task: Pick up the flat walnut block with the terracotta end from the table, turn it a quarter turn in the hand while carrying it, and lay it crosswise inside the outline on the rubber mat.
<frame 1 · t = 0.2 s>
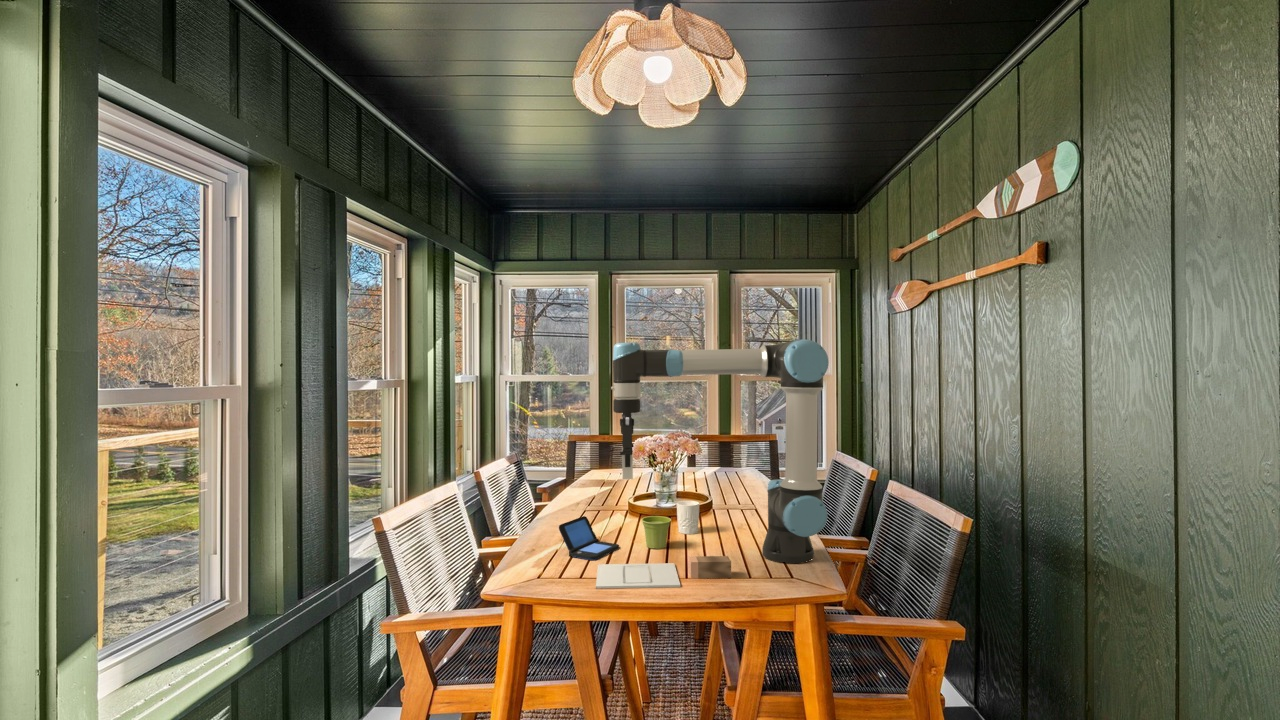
hand: (627, 474, 178), 27 cm above the table, tool pointing down, fingers open, 13 cm apart
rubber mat: (637, 576, 175), on the table
plant pot: (656, 547, 203), on the table
white cup: (688, 532, 221), on the table
walnut block: (709, 575, 176), on the table
handheld game console: (589, 552, 198), on the table
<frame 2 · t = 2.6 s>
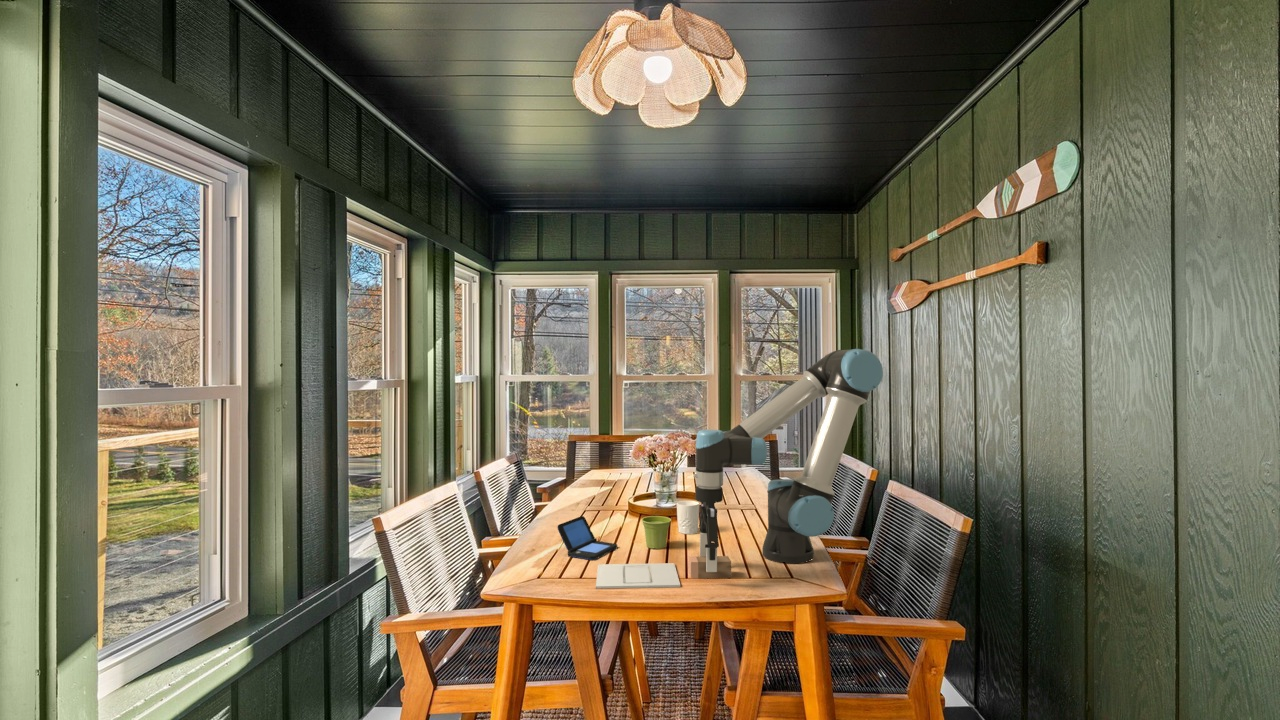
hand: (707, 563, 176), 3 cm above the table, tool pointing down, fingers open, 13 cm apart
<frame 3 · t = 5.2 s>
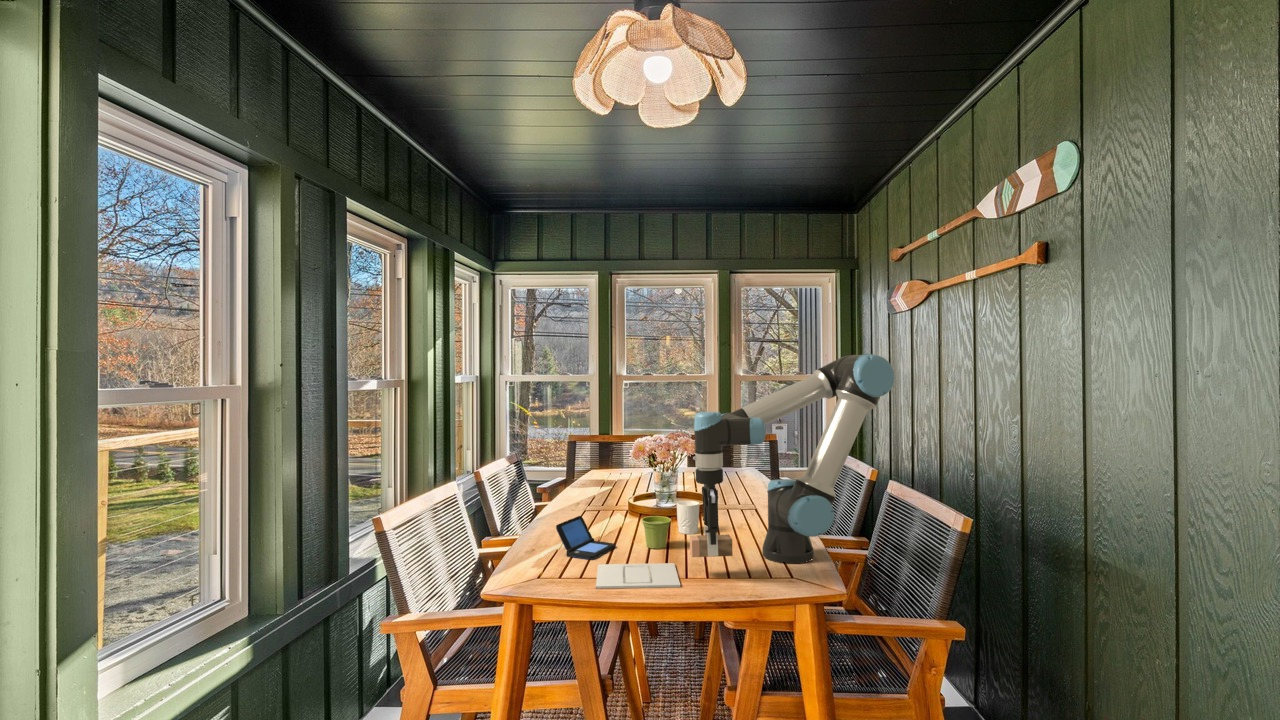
hand: (711, 552, 176), 6 cm above the table, tool pointing down, fingers closed on walnut block, 5 cm apart
walnut block: (711, 553, 176), point 6 cm above the table, touching gripper
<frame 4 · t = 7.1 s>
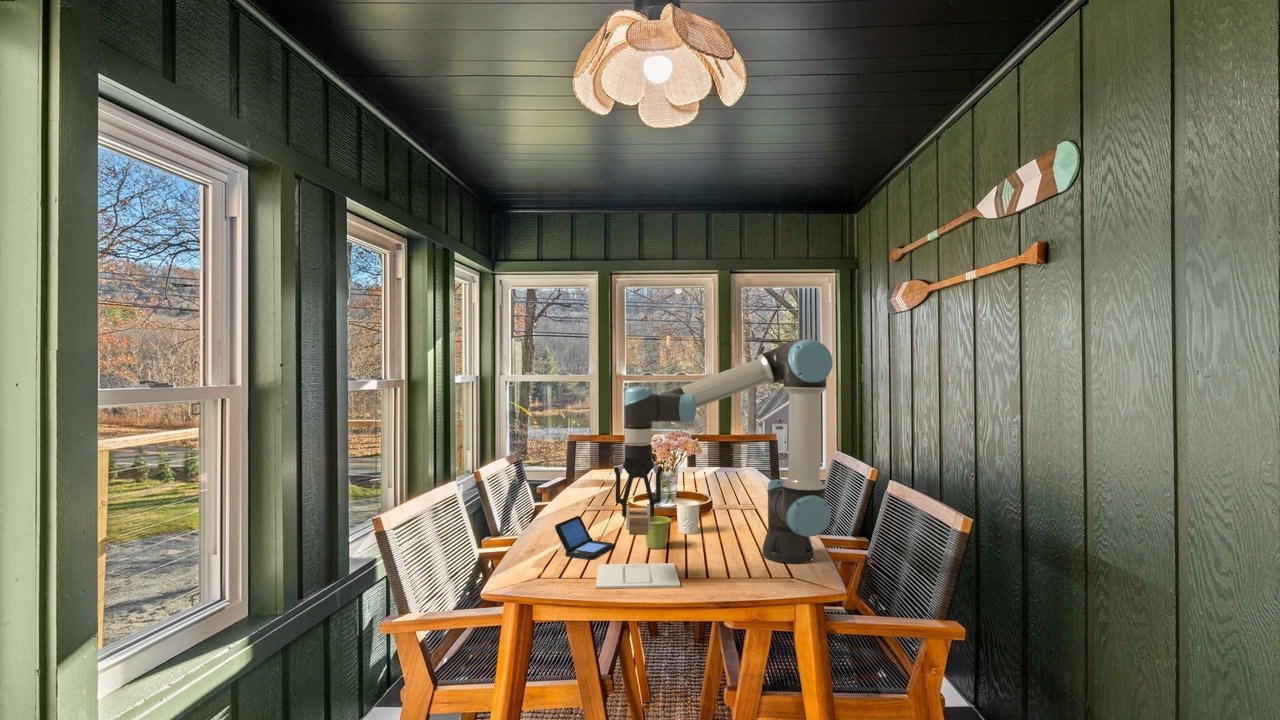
hand: (638, 528, 175), 13 cm above the table, tool pointing down, fingers closed on walnut block, 5 cm apart
walnut block: (638, 529, 175), point 13 cm above the table, touching gripper
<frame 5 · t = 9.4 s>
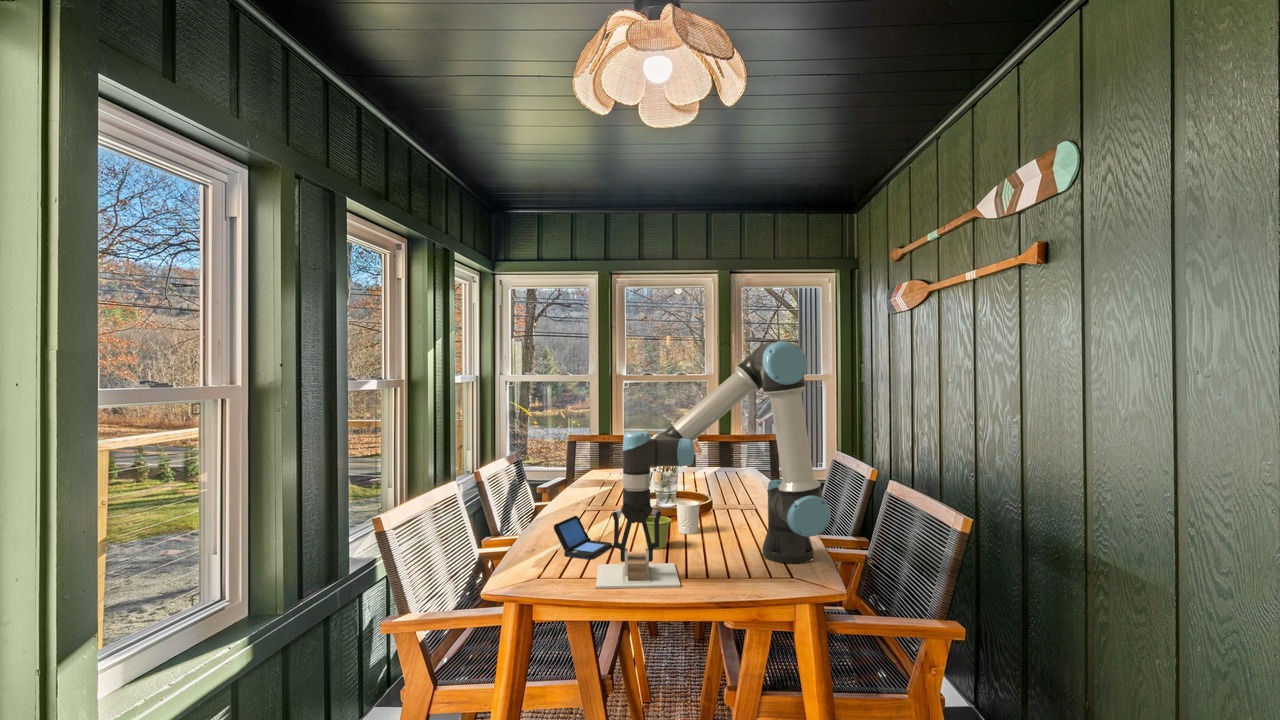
hand: (636, 573, 175), 1 cm above the table, tool pointing down, fingers closed on walnut block, 5 cm apart
walnut block: (636, 574, 175), point 1 cm above the table, touching gripper, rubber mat
when the fingers open (1 cm above the table, at t = 9.6 s): walnut block stays where it is, resting on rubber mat.
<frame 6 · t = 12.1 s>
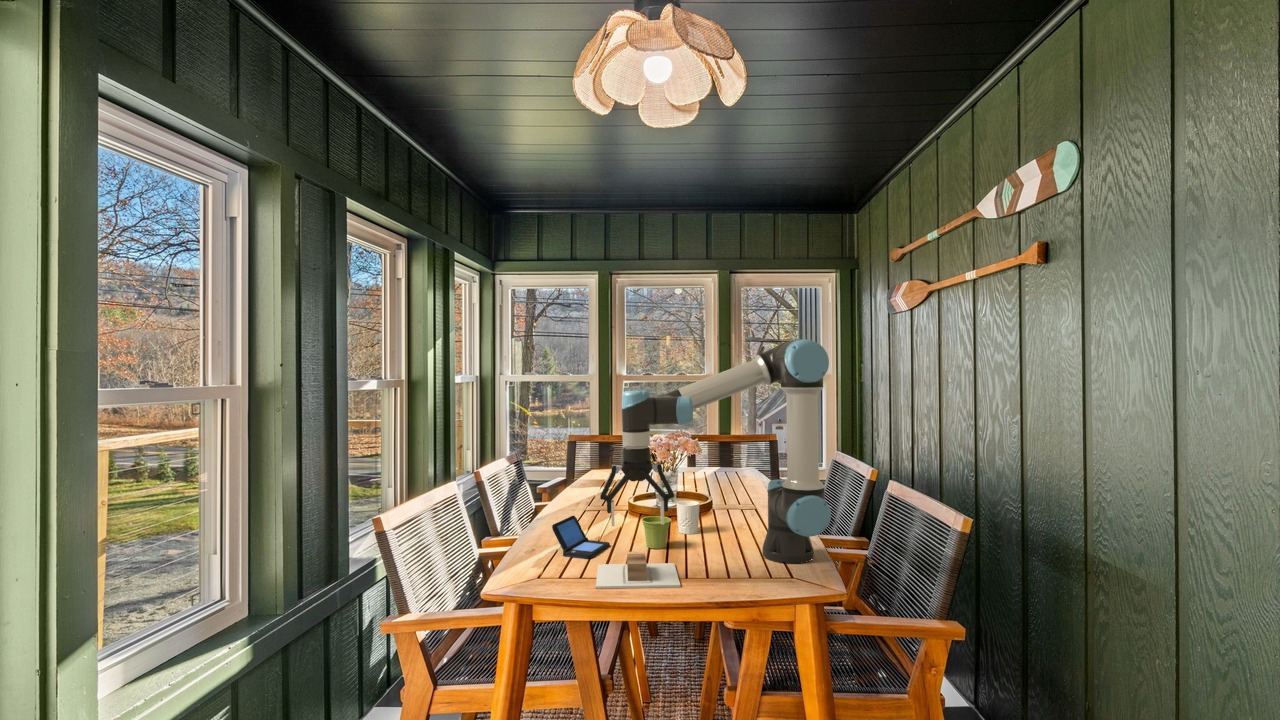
hand: (637, 524, 175), 14 cm above the table, tool pointing down, fingers open, 13 cm apart
walnut block: (636, 574, 175), point 1 cm above the table, touching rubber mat
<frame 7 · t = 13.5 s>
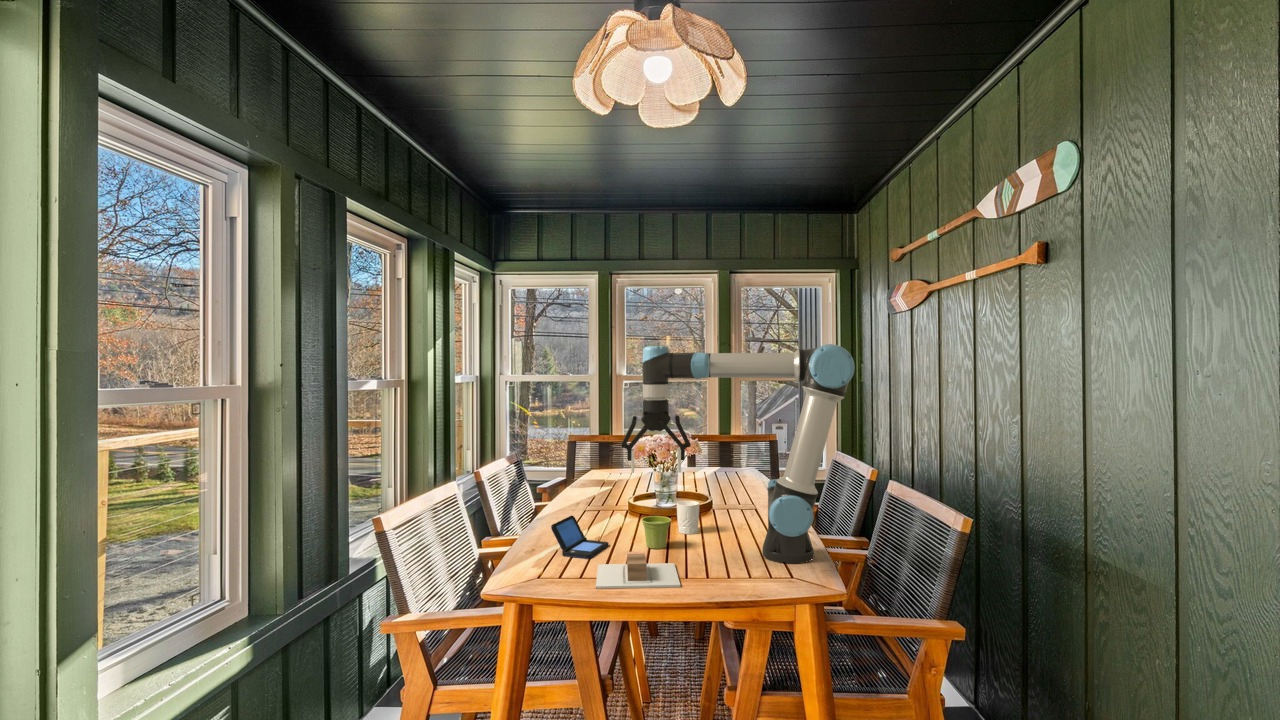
hand: (656, 471, 186), 27 cm above the table, tool pointing down, fingers open, 13 cm apart
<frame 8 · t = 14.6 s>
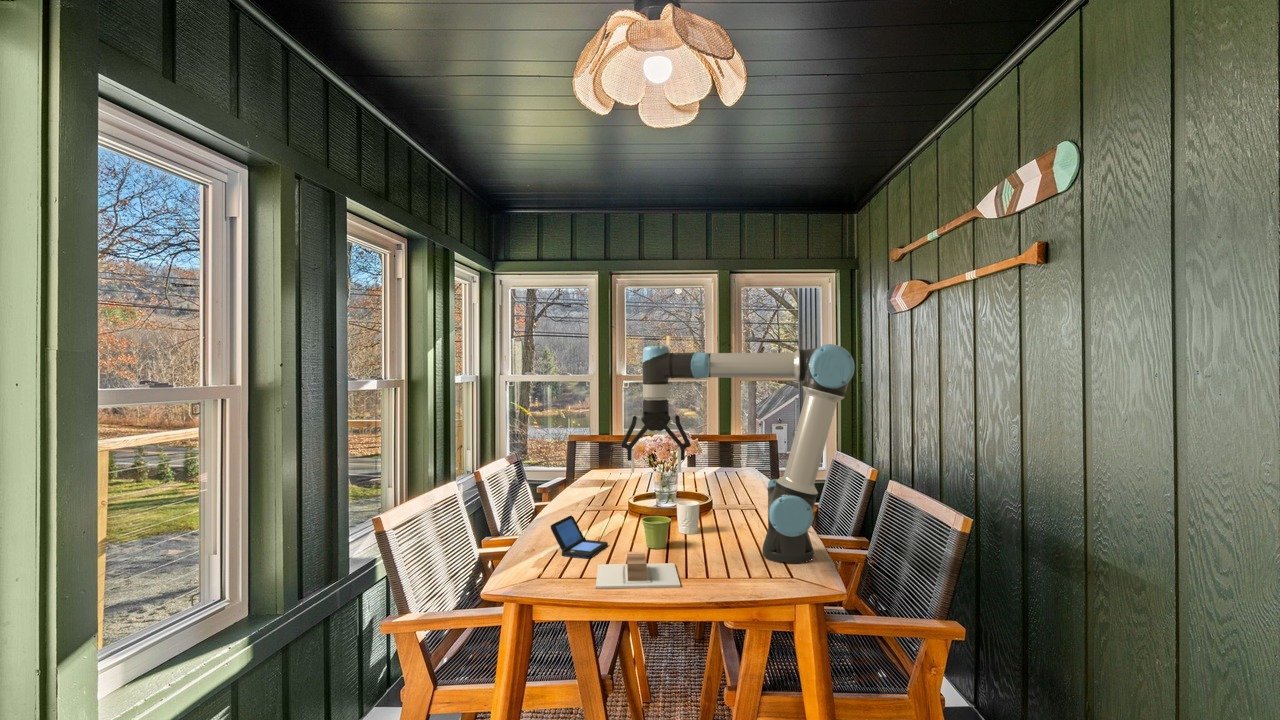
hand: (656, 471, 186), 27 cm above the table, tool pointing down, fingers open, 13 cm apart
at the end: walnut block 0.1 cm off-centre on the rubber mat, point 0.6 cm above the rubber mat's base; walnut block tilted 0°; the gripper is holding nothing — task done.
